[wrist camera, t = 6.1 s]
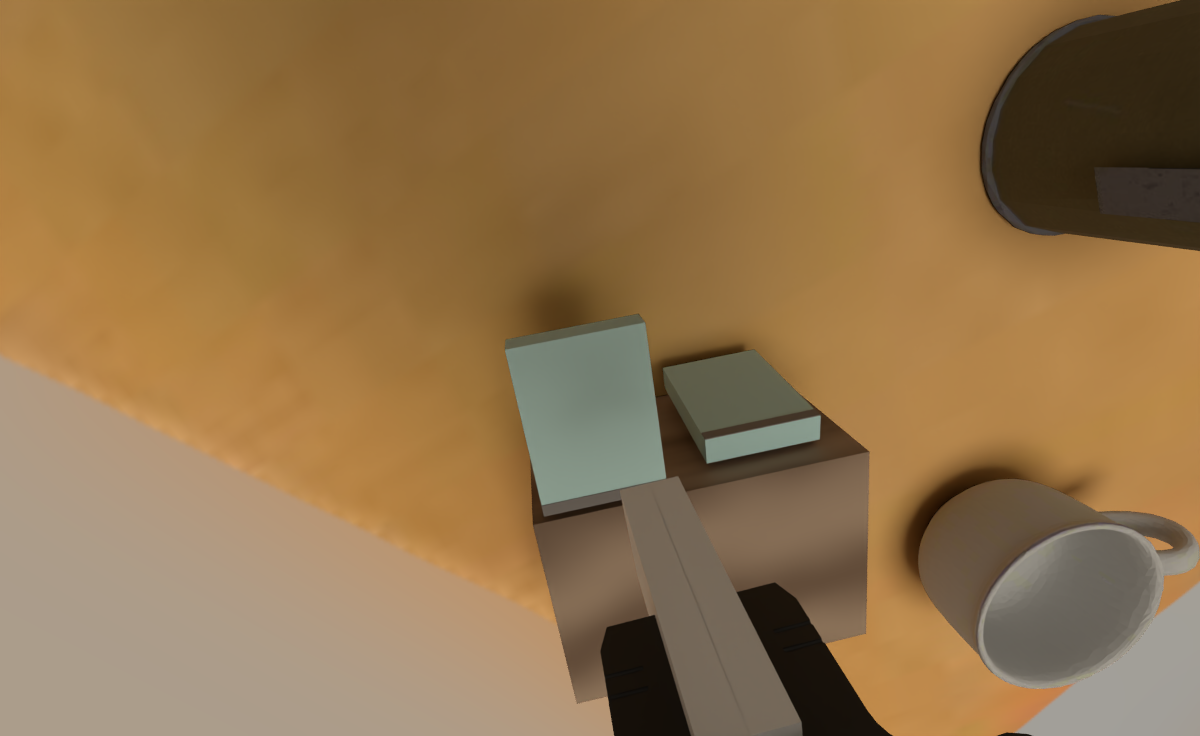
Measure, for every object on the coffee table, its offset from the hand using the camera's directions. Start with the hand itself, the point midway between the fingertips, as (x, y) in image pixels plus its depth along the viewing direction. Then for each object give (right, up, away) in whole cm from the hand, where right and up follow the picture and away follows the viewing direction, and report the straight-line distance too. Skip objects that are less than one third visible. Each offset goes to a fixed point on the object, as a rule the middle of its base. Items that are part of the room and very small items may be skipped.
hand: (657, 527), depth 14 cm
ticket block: (+2, -2, +19) cm, 19 cm away
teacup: (+25, -6, +24) cm, 35 cm away
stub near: (-2, +2, +8) cm, 8 cm away
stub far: (+5, +2, +13) cm, 14 cm away
